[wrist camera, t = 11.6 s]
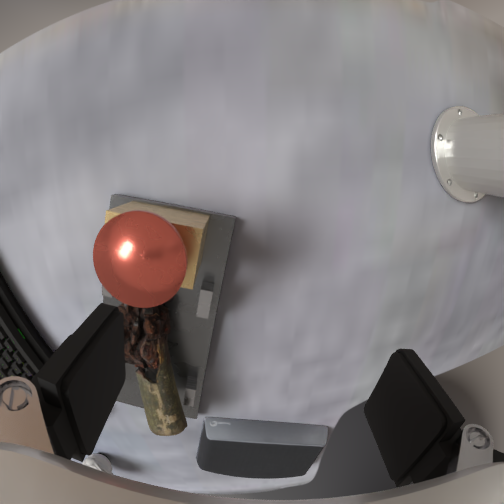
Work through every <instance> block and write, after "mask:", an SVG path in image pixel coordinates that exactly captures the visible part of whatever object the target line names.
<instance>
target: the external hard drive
mask: <svg viewBox="0 0 504 504" xmlns="http://www.w3.org/2000/svg"><path fill="white" fill-rule="evenodd" d="M327 436H328V426H321V425H309V424H297V423H284V422H271V421H257V420H244V419H230V418H216V417H205V418H204V423H203V427H202V432H201V437H200V442H199V447H198V452H197V456H196V459H197V463H198V465H199V467H200V468H201V469H202V470H205V471H209V472H213V473H217V474H223V475H229V476H236V477H245V478H287V477H296V476H303V475H305V474H306V472H307V471H308V469H309V468H310V467H311V465H312V464H313V462H314V461H315V459H316V458H317V456H318V455H319V453H320V452H321V450H322V449H323V447H324V446H325V444H326V442H327Z"/></svg>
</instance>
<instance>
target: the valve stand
mask: <svg viewBox="0 0 504 504" xmlns="http://www.w3.org/2000/svg"><path fill="white" fill-rule="evenodd" d="M235 219H236V217H235V216H231V215H226V214H221V213H216V212H211V211H206V210H201V209H196V208H190V207H185V206H180V205H174V204H169V203H164V202H158V201H153V200H147V199H141V198H136V197H130V196H124V195H118V194H114V195H111V201H110V209H109V210H107V211H106V217H105V225H104V226H103V227H102V229H101V230H100V232H99V233H98V235H97V238H96V240H95V244H94V249H93V261H94V267H95V271H96V273H97V276H98V278H99V280H100V282H101V283H102V295H103V303H105V304H108V305H112V306H116V307H118V306H119V305H121V304H122V303H125V304H127V305H130V306H133V307H139V308H150V307H155V306H158V305H162V306H165V307H167V308H168V312H169V317H170V327H171V330H170V333H169V334H168V335H167V336H168V338H167V342H168V349H169V354H170V359H171V364H172V368H173V373H174V378H175V383H176V387H177V390H178V393H179V397H180V401H181V404H182V408H183V411H184V415H185V417H188V418H194V419H197V415H198V409H199V404H200V398H201V392H202V387H203V381H204V376H205V370H206V365H207V359H208V354H209V348H210V343H211V338H212V332H213V327H214V322H215V317H216V312H217V306H218V301H219V296H220V291H221V286H222V281H223V276H224V271H225V266H226V262H227V257H228V252H229V247H230V242H231V237H232V233H233V228H234V223H235ZM137 369H138V367H135V365H133V364H129V363H125V370H126V378H125V382H124V385H123V387H122V389H121V391H120V393H119V395H118V397H117V399H116V401H119V402H122V403H126V404H130V405H133V406H137V407H141V408H144V405H143V401H142V397H141V393H140V388H139V384H138V380H137V376H136V372H135V371H136V370H137Z"/></svg>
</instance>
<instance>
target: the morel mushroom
mask: <svg viewBox="0 0 504 504" xmlns="http://www.w3.org/2000/svg"><path fill="white" fill-rule="evenodd" d="M118 308H119V312H122V313H123V315H124V351H125V363H129V364H133V365H135V367H138V369H137V370H136V371H135V372H136V376H137V380H138V384H139V388H140V393H141V397H142V401H143V405H144V409H145V413H146V417H147V421H148V425H149V427H150V430H151V431H152V432H153V433H154V434H156V435H160V436H171V435H177V434H179V433H181V432H182V431H183V430H184V429H185V428H186V427H187V422H186V418H185V415H184V411H183V408H182V404H181V401H180V397H179V393H178V390H177V387H176V383H175V378H174V373H173V368H172V364H171V359H170V354H169V349H168V342H167V338H168V336H167V335H168V334H169V333H170V330H171V327H170V317H169V312H168V308H167V307H165V306H162V305H158V306H155V307H150V308H139V307H133V306H130V305H127V304H125V303H122V304H121V305H119V306H118Z"/></svg>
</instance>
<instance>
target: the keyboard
mask: <svg viewBox="0 0 504 504" xmlns="http://www.w3.org/2000/svg"><path fill="white" fill-rule="evenodd" d="M53 354H54V353H53V352H52V350H51V349H50V348H49V347H48V345H47V344H46V343H45V341H44V340H43V338H42V337H41V336H40V334H39V333H38V332H37V330H36V329H35V327H34V326H33V324H32V323H31V321H30V320H29V318H28V317H27V315H26V314H25V312H24V311H23V309H22V308H21V306H20V305H19V303H18V301H17V300H16V298H15V297H14V295H13V293H12V291H11V290H10V288H9V286H8V285H7V283H6V281H5V279H4V278H3V276H2V274H1V272H0V380H1V379H3V378H6V377H10V376H19V377H22V378H25V379H27V380H29V381H31V380H32V379H33V378H34V376H35V375H36V374H37V373H38V372H39V370H40V369H41V368H42V367H43V366H44V364H45V363H46V362H47V361H48V360H49V358H50V357H51V356H52V355H53Z"/></svg>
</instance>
